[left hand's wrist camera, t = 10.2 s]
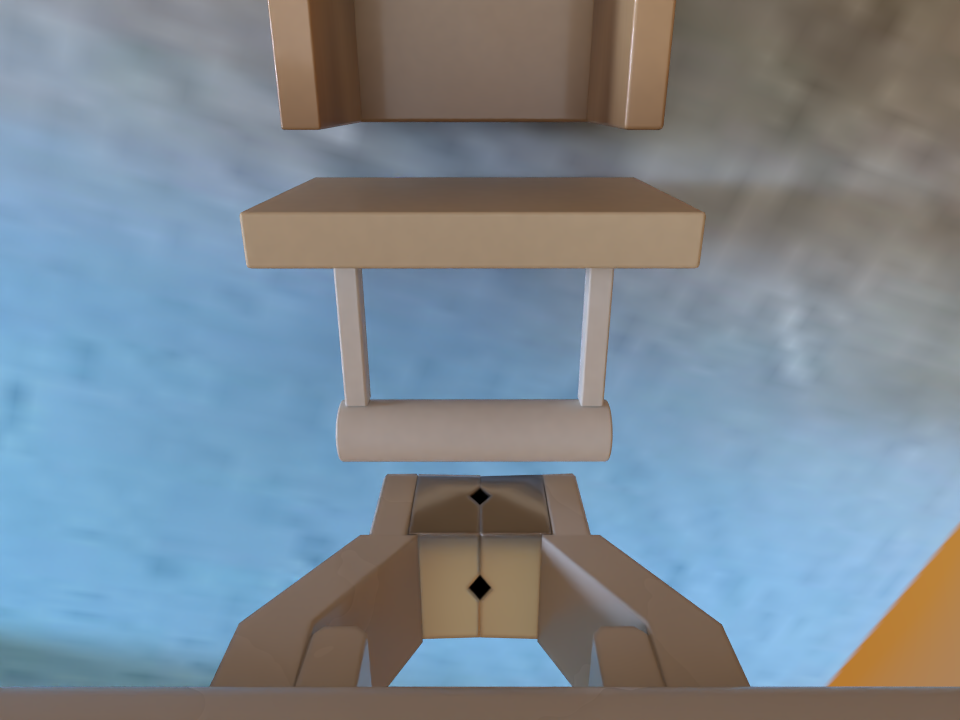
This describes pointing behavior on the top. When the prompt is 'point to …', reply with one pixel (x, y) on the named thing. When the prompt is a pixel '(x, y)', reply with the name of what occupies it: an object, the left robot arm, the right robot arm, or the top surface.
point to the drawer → (472, 191)
